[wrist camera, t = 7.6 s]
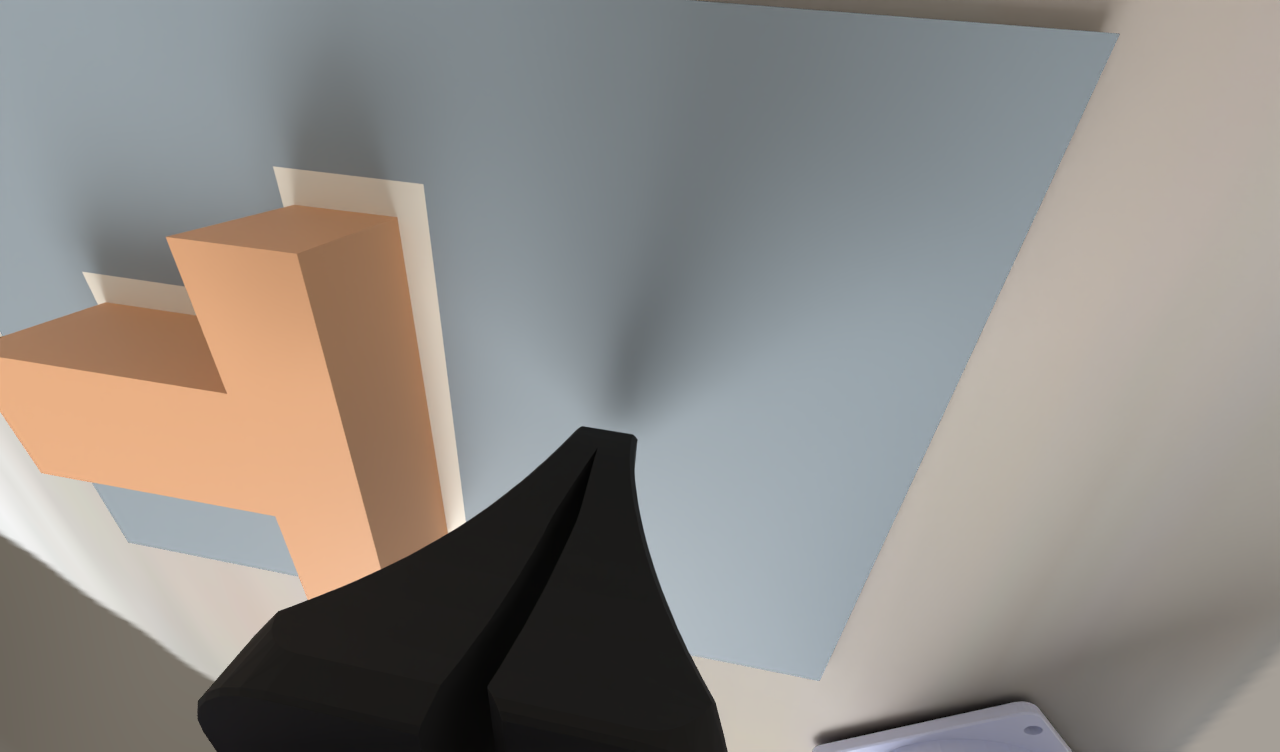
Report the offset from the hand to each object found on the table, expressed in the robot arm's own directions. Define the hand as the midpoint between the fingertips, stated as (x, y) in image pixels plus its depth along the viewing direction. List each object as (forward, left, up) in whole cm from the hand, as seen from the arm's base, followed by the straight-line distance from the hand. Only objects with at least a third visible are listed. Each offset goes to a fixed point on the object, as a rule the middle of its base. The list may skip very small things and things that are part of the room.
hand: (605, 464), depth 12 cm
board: (+4, +4, -2) cm, 6 cm away
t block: (+7, +7, -1) cm, 10 cm away
